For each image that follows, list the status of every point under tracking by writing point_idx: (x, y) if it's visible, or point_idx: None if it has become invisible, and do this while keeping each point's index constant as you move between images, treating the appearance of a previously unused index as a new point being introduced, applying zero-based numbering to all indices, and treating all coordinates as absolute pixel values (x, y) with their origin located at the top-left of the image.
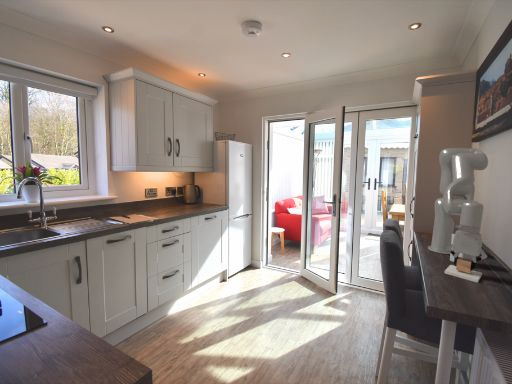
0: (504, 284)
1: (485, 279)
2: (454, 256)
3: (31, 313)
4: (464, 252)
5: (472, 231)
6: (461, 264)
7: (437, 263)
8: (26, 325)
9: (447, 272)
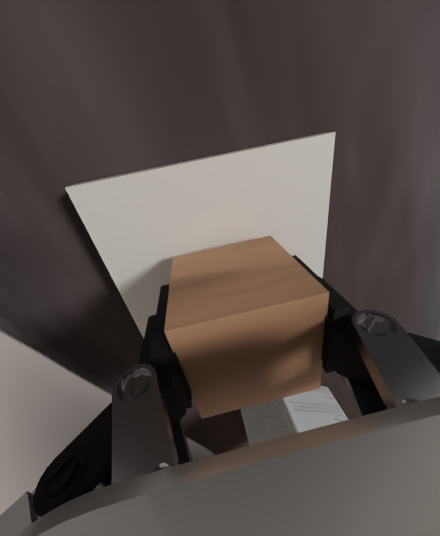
0: (15, 334)
1: (109, 309)
2: (382, 322)
3: None
4: (348, 499)
5: None
6: (253, 272)
7: (374, 300)
8: None
9: (305, 138)
